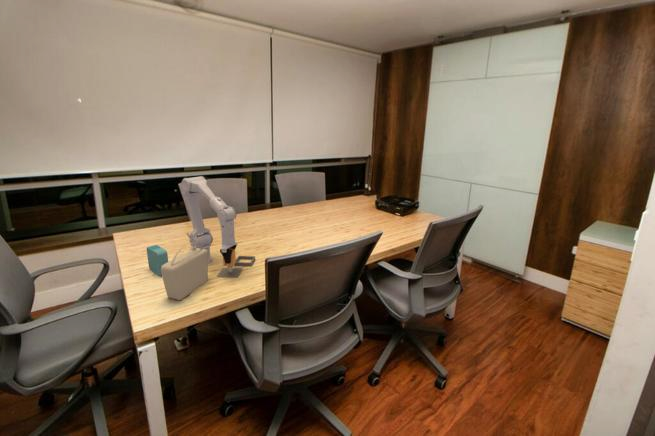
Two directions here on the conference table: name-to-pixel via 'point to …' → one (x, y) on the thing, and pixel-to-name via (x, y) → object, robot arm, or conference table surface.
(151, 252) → the data package
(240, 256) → the tray
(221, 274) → the stud plate
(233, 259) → the orange brown block
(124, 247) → the conference table surface
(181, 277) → the radio
